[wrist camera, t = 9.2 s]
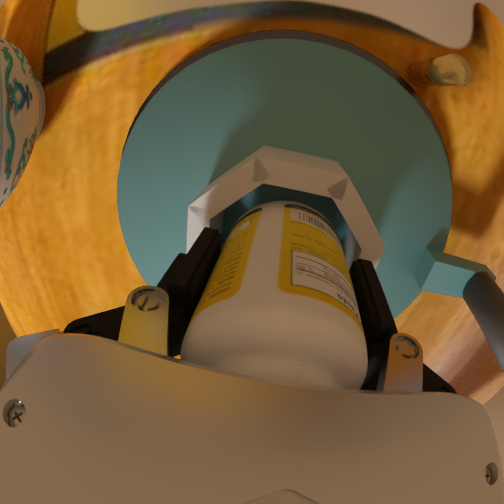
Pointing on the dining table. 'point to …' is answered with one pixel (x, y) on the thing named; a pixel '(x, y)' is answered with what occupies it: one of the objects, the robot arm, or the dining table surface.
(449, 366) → the dining table surface
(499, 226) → the dining table surface
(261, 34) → the turntable base
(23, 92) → the chinaware
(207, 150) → the turntable
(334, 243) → the supplement bottle
